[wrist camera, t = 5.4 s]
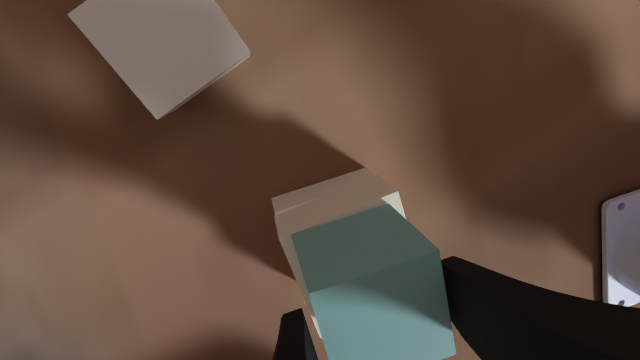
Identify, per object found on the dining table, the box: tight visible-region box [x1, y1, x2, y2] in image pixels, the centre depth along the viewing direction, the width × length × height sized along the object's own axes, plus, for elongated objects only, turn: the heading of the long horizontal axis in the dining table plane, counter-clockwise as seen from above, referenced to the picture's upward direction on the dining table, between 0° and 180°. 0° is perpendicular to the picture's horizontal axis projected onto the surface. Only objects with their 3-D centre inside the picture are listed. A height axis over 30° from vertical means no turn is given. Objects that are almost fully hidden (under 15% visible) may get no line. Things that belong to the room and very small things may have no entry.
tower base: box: [271, 168, 376, 304], centre depth 19 cm, size 5×5×2 cm
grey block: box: [67, 0, 251, 120], centre depth 14 cm, size 4×4×4 cm
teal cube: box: [291, 203, 456, 360], centre depth 13 cm, size 4×4×4 cm
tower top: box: [274, 175, 406, 338], centre depth 16 cm, size 5×5×2 cm
